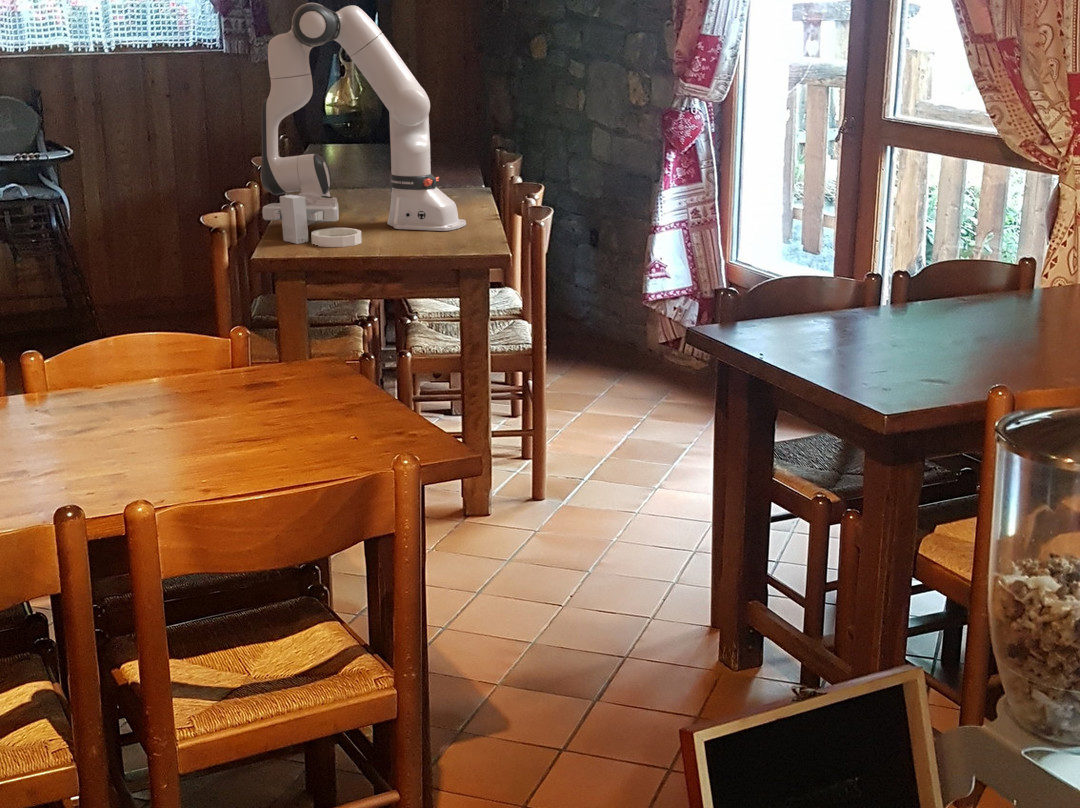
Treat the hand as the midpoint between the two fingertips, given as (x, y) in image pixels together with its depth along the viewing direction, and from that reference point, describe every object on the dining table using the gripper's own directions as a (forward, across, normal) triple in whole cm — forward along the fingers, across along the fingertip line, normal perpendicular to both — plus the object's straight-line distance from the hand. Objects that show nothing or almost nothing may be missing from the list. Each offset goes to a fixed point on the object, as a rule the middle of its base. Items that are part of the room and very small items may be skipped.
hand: (295, 217), depth 325 cm
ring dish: (-1, +11, +6) cm, 12 cm away
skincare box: (0, 0, +7) cm, 7 cm away
